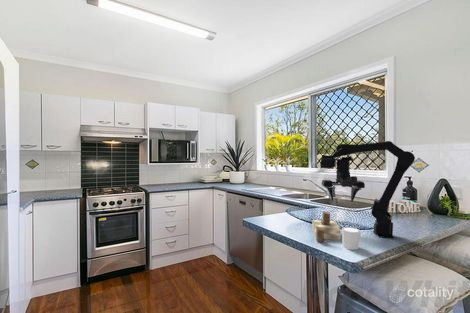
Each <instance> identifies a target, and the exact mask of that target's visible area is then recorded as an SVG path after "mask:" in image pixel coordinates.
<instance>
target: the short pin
mask: <svg viewBox="0 0 470 313" xmlns="http://www.w3.org/2000/svg"><path fill="white" fill-rule="evenodd" d="M315 240H316V243H324V242H325V239H324V230H323V229H322V228H316V237H315Z"/></svg>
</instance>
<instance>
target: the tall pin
mask: <svg viewBox="0 0 470 313" xmlns="http://www.w3.org/2000/svg"><path fill="white" fill-rule="evenodd" d="M330 221H331V213H330V212H329V211H322V225H330Z"/></svg>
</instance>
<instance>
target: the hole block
mask: <svg viewBox="0 0 470 313" xmlns="http://www.w3.org/2000/svg"><path fill="white" fill-rule="evenodd" d="M322 220H323V219H322ZM322 220H321V219H312V222H311V223H312V224H311V225H312V226H311V230H312V232H313V235H314V237H315V238H316V228H322V229H323V230H324V240H341V235H342V227H341V226H339V224H338V223H337V222H336V220H330V225H322Z"/></svg>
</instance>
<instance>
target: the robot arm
mask: <svg viewBox="0 0 470 313" xmlns="http://www.w3.org/2000/svg"><path fill="white" fill-rule="evenodd" d="M375 151H377V152H378V151H388V152H389V153H390V154H392V155H393V156H395V157H396V158H397V161H396V165H395V167H394V171H393V173H392V174H391V177H390V179H389V181H388V182H387V185H386V187H385V189H384V190H383V193H382V194H381V197H380V198H379V199H378V198H374V201H373V204H372V206H371V207H370V211H371V215H372V217H373V218H375V220H374V223H373V231H372V232H373V233H374V235H376V236H377V237H379V238H388V239H389V238H391V239H393V238H396V237H395V236H394V234H393V233H394V222H392V221H393V216H392V215H391V213H389V211H388V210H389V205H390V202H391V200H392V198H393V196H394V194H395V192H396V190H397V189H398V186H399V184H400V182H401V180H402V179H403V176H404V175H405V173H406V172H407V171H408V169H410V167H411V166H412V165H413V163H414V162H415V159H416V157H415V154H414V153H412V152H411V151H407V150H406V151H405V150H404V149H402V148H401V147H399V146H397V145H396V144H394V142H392V141H390V140H387V141H380V142H372V143H362V144H352V143H351V144H349V143H348V144H347V143H342V144H341V143H340V144H338V145H337V147H336V150H335V151H334V153H332V155H326V154H323V155H321V159H320V161H319V162H320V163H319V164H320V168H321V169H332V170H333V169H335V168H336V170H335V172H336V178H335V181H332V180H331V179H322V180H321V186H323V187H324V188H325V189H326V190H327V192H328V194H329V198H330V200H331V201H334V195H333V194H334V192H333V191H334V187H333V186H341V187H343V188H347V187H348V188H351V191H350V202H352V203H353V202H354V200H355V197H356V195H357V193H358V192H359V191H361V190H362V189H365V188H366V184H365V182H364V181H362V180H358V177H357V176H354V175H352V176H351V172H350V168H351V167H350V164H351V163H350V162H352V161H353V162H354V161H355V158H354V157H352V155H355V154H357V153H364V152H375ZM340 157H341V158H340Z"/></svg>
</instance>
